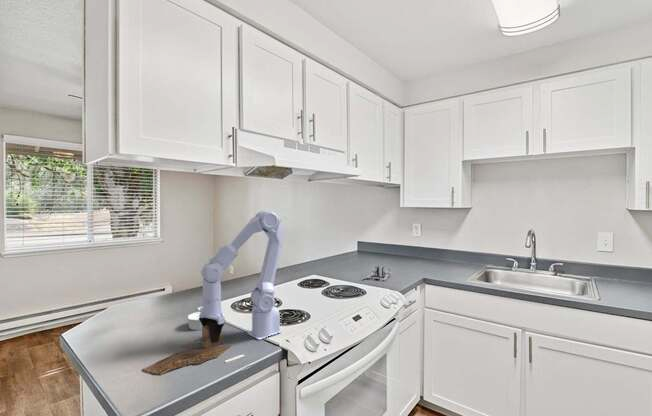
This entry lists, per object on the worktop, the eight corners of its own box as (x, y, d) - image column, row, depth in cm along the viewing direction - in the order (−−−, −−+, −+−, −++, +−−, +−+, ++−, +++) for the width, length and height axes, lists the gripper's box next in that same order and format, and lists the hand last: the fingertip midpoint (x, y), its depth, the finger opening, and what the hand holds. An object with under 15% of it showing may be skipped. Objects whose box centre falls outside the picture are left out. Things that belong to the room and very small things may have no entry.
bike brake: (374, 273, 210) (361, 284, 193) (373, 263, 209) (360, 273, 192) (393, 276, 203) (382, 287, 186) (393, 266, 202) (381, 276, 185)
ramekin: (216, 326, 120) (216, 315, 120) (192, 333, 114) (192, 321, 113) (207, 320, 126) (207, 309, 126) (184, 326, 120) (184, 315, 120)
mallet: (216, 339, 107) (216, 322, 107) (221, 343, 105) (221, 325, 105) (180, 351, 99) (180, 332, 99) (184, 355, 96) (184, 336, 96)
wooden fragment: (144, 380, 83) (144, 376, 83) (139, 364, 92) (139, 360, 92) (239, 354, 98) (239, 350, 98) (227, 342, 107) (227, 339, 107)
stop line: (242, 354, 97) (242, 354, 97) (244, 356, 96) (244, 355, 96) (224, 361, 92) (224, 360, 92) (226, 363, 92) (226, 362, 92)
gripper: (191, 297, 107) (191, 336, 107) (209, 306, 96) (209, 350, 96) (211, 293, 112) (211, 330, 112) (230, 301, 101) (230, 343, 101)
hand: (212, 339), depth 104 cm, fingers closed on mallet, 4 cm apart
